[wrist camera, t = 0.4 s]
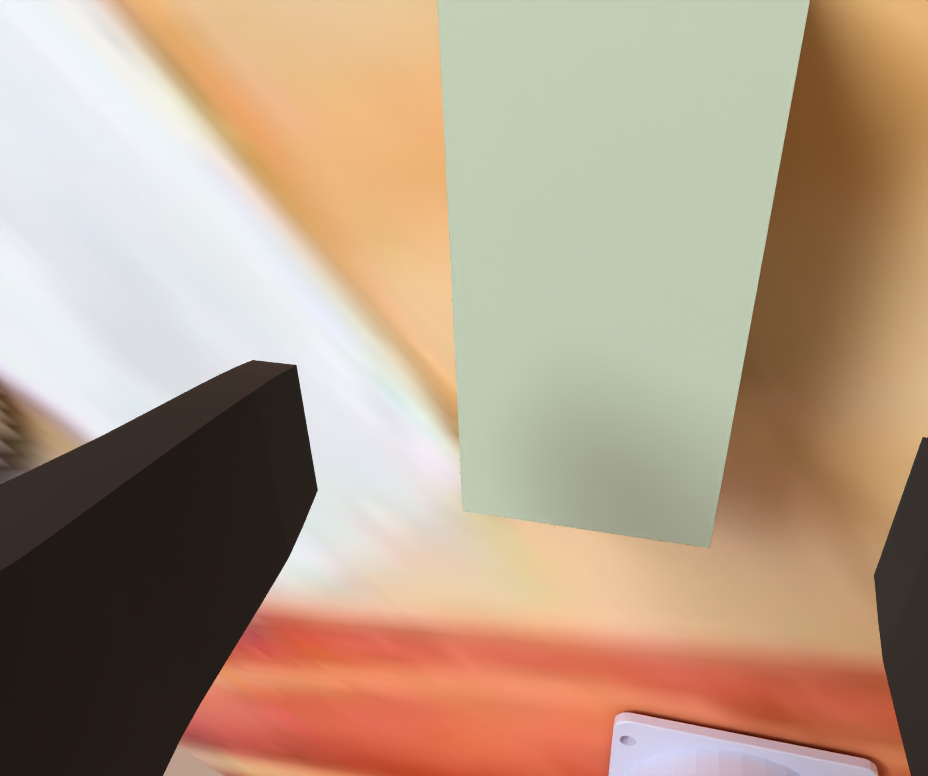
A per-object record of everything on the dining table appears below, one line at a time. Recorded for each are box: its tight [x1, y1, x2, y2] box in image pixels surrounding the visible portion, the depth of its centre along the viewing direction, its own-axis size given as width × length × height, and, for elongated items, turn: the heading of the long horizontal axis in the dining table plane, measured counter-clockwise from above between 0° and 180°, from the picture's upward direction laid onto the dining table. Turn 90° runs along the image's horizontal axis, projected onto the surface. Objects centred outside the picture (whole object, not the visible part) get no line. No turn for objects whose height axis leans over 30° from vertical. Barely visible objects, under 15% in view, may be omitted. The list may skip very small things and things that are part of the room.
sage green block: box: [438, 0, 810, 548], centre depth 16 cm, size 10×5×5 cm, turn 2°
